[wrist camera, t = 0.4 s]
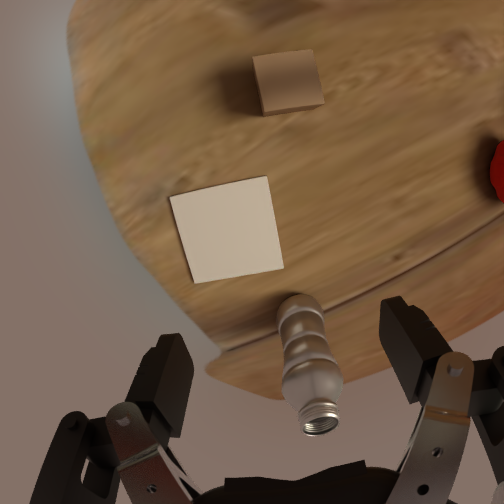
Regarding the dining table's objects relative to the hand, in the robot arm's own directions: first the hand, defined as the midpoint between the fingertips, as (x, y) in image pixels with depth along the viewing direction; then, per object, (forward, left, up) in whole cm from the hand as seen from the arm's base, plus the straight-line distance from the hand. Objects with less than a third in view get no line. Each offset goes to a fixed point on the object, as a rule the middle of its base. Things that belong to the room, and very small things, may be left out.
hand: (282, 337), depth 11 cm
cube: (-13, +5, -26) cm, 29 cm away
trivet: (+3, -5, -26) cm, 26 cm away
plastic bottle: (+16, +2, -26) cm, 30 cm away
